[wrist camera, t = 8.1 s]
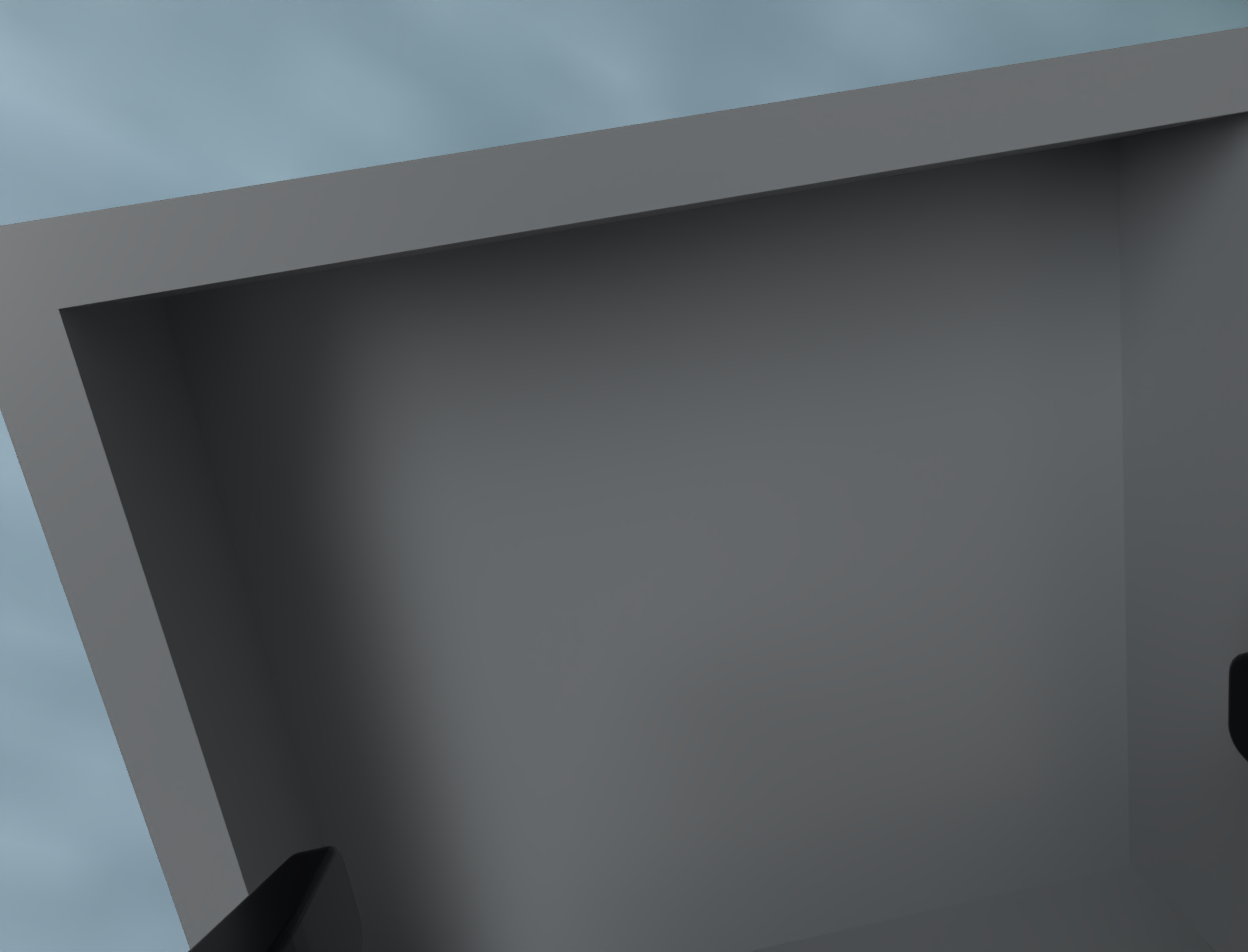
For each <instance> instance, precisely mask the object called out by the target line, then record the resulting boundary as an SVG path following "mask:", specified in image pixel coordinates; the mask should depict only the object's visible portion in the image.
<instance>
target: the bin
mask: <svg viewBox="0 0 1248 952" xmlns="http://www.w3.org/2000/svg"><path fill="white" fill-rule="evenodd" d="M0 409H1V412H2V415H3V418H4V420H5V423H6V426H7V429H8V432H9V435H10V438H11V440H12V443H13V446H14V449H15V452H16V455H17V457H18V460H19V463H20V466H21V469H22V472H23V475H24V477H25V480H26V483H27V486H28V489H29V492H30V494H31V497H32V500H33V503H34V506H35V509H36V512H37V514H38V517H39V520H40V523H41V526H42V529H43V532H44V534H45V537H46V540H47V543H48V546H49V549H50V551H51V554H52V557H53V560H54V563H55V566H56V569H57V571H58V574H59V577H60V580H61V583H62V586H63V588H64V591H65V594H66V597H67V600H68V603H69V606H70V608H71V611H72V614H73V617H74V620H75V623H76V625H77V628H78V631H79V634H80V637H81V640H82V643H83V645H84V648H85V651H86V654H87V657H88V660H89V662H90V665H91V668H92V671H93V674H94V677H95V680H96V682H97V685H98V688H99V691H100V694H101V697H102V699H103V702H104V705H105V708H106V711H107V714H108V717H109V719H110V722H111V725H112V728H113V731H114V734H115V736H116V739H117V742H118V745H119V748H120V751H121V754H122V756H123V759H124V762H125V765H126V768H127V771H128V773H129V776H130V779H131V782H132V785H133V788H134V791H135V793H136V796H137V799H138V802H139V805H140V808H141V810H142V813H143V816H144V819H145V822H146V825H147V828H148V830H149V833H150V836H151V839H152V842H153V845H154V847H155V850H156V853H157V856H158V859H159V862H160V865H161V867H162V870H163V873H164V876H165V879H166V882H167V884H168V887H169V890H170V893H171V896H172V899H173V902H174V904H175V907H176V910H177V913H178V916H179V919H180V921H181V924H182V927H183V930H184V933H185V936H186V939H187V941H188V944H189V947H190V950H191V949H192V948H193V947H194V946H195V945H196V944H197V943H198V942H199V941H200V940H201V939H202V938H203V937H204V936H205V935H207V934H208V933H209V932H210V931H211V930H212V929H213V928H214V927H215V926H216V925H217V924H218V923H219V922H220V921H222V920H223V919H224V918H225V917H226V916H227V915H228V914H229V913H230V912H231V911H232V910H233V909H234V908H235V907H237V906H238V905H239V904H240V903H241V902H242V901H243V900H244V899H245V898H246V897H247V896H248V895H249V894H250V893H252V892H253V891H254V890H255V889H256V888H257V887H258V886H259V885H260V884H261V883H262V882H263V881H264V880H265V879H267V878H268V877H269V876H270V875H271V874H272V873H273V872H274V871H275V870H276V869H277V868H278V867H279V866H280V865H282V864H283V863H284V862H285V861H286V860H287V859H288V858H289V857H290V856H292V855H293V854H295V853H298V852H303V851H308V850H313V849H317V848H322V847H327V846H335V847H337V848H338V849H339V850H340V851H341V853H342V855H343V857H344V859H345V862H346V866H347V869H348V873H349V876H350V880H351V883H352V887H353V890H354V894H355V897H356V901H357V904H358V908H359V911H360V915H361V919H362V925H363V952H1248V762H1247V761H1246V760H1245V759H1244V758H1243V757H1242V755H1241V754H1240V753H1239V752H1238V750H1237V749H1236V747H1235V746H1234V744H1233V742H1232V739H1231V737H1230V734H1229V729H1228V689H1229V666H1230V664H1231V662H1232V660H1233V658H1235V657H1236V656H1237V655H1239V654H1241V653H1246V652H1248V27H1245V28H1239V29H1232V30H1226V31H1220V32H1214V33H1207V34H1201V35H1195V36H1189V37H1182V38H1176V39H1170V40H1163V41H1157V42H1151V43H1145V44H1138V45H1132V46H1126V47H1120V48H1113V49H1107V50H1101V51H1094V52H1088V53H1082V54H1076V55H1069V56H1063V57H1057V58H1051V59H1044V60H1038V61H1032V62H1025V63H1019V64H1013V65H1007V66H1000V67H994V68H988V69H982V70H975V71H969V72H963V73H956V74H950V75H944V76H938V77H931V78H925V79H919V80H913V81H906V82H900V83H894V84H887V85H881V86H875V87H869V88H862V89H856V90H850V91H843V92H837V93H831V94H825V95H818V96H812V97H806V98H800V99H793V100H787V101H781V102H774V103H768V104H762V105H756V106H749V107H743V108H737V109H731V110H724V111H718V112H712V113H705V114H699V115H693V116H687V117H680V118H674V119H668V120H662V121H655V122H649V123H643V124H636V125H630V126H624V127H618V128H611V129H605V130H599V131H593V132H586V133H580V134H574V135H567V136H561V137H555V138H549V139H542V140H536V141H530V142H524V143H517V144H511V145H505V146H498V147H492V148H486V149H480V150H473V151H467V152H461V153H455V154H448V155H442V156H436V157H429V158H423V159H417V160H411V161H404V162H398V163H392V164H386V165H379V166H373V167H367V168H360V169H354V170H348V171H342V172H335V173H329V174H323V175H317V176H310V177H304V178H298V179H291V180H285V181H279V182H273V183H266V184H260V185H254V186H248V187H241V188H235V189H229V190H222V191H216V192H210V193H204V194H197V195H191V196H185V197H179V198H172V199H166V200H160V201H153V202H147V203H141V204H135V205H128V206H122V207H116V208H110V209H103V210H97V211H91V212H84V213H78V214H72V215H66V216H59V217H53V218H47V219H41V220H34V221H28V222H22V223H15V224H9V225H3V226H0Z"/></svg>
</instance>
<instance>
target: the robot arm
mask: <svg viewBox="0 0 1248 952" xmlns="http://www.w3.org/2000/svg"><path fill="white" fill-rule="evenodd" d="M1228 729H1229V734H1230V737H1231V739H1232V742H1233V744H1234V746H1235V747H1236V749H1237V750H1238V752H1239V753H1240V754H1241V755H1242V757H1243V758H1244V759H1245V760H1246V761H1247V762H1248V652H1246V653H1241V654H1239V655H1237V656H1236V657H1235V658H1233V660H1232V662H1231V664H1230V666H1229V689H1228ZM188 952H363V925H362V919H361V915H360V911H359V908H358V904H357V901H356V897H355V894H354V890H353V887H352V883H351V880H350V876H349V873H348V869H347V866H346V862H345V859H344V857H343V855H342V853H341V851H340V850H339V849H338V848H337V847H335V846H327V847H322V848H317V849H313V850H308V851H303V852H298V853H295V854H293V855H292V856H290V857H289V858H288V859H287V860H286V861H285V862H284V863H283V864H282V865H280V866H279V867H278V868H277V869H276V870H275V871H274V872H273V873H272V874H271V875H270V876H269V877H268V878H267V879H265V880H264V881H263V882H262V883H261V884H260V885H259V886H258V887H257V888H256V889H255V890H254V891H253V892H252V893H250V894H249V895H248V896H247V897H246V898H245V899H244V900H243V901H242V902H241V903H240V904H239V905H238V906H237V907H235V908H234V909H233V910H232V911H231V912H230V913H229V914H228V915H227V916H226V917H225V918H224V919H223V920H222V921H220V922H219V923H218V924H217V925H216V926H215V927H214V928H213V929H212V930H211V931H210V932H209V933H208V934H207V935H205V936H204V937H203V938H202V939H201V940H200V941H199V942H198V943H197V944H196V945H195V946H194V947H193V948H192V949H191V950H189V951H188Z"/></svg>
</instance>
